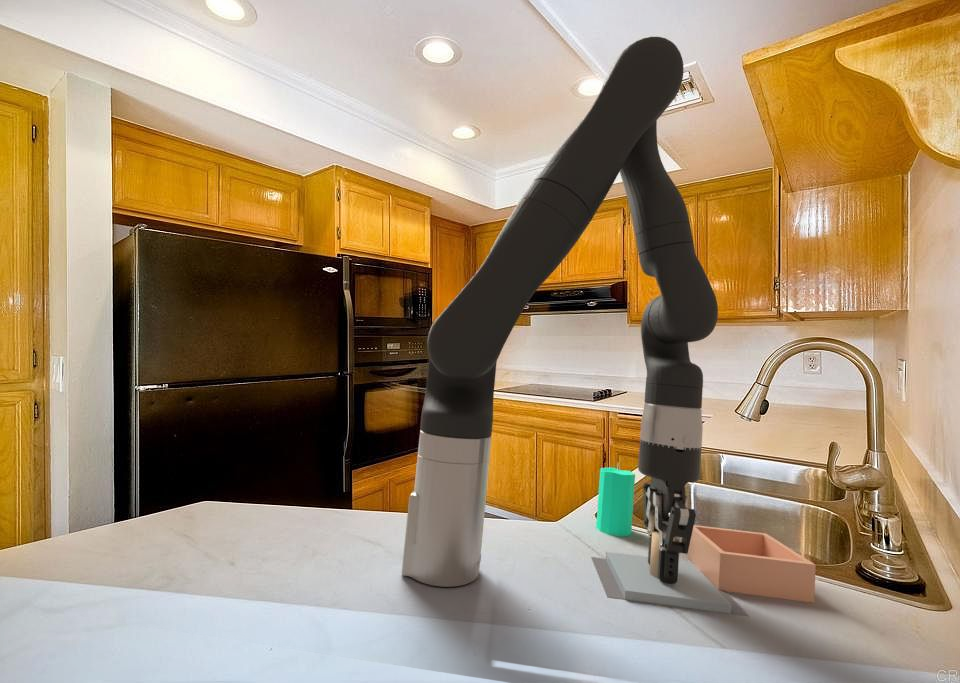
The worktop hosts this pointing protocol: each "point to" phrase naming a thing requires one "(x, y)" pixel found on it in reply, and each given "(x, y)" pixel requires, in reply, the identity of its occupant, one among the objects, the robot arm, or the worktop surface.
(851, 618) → the worktop surface
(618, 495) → the candle
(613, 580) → the mat
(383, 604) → the worktop surface
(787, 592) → the dish
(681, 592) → the lid
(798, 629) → the worktop surface
